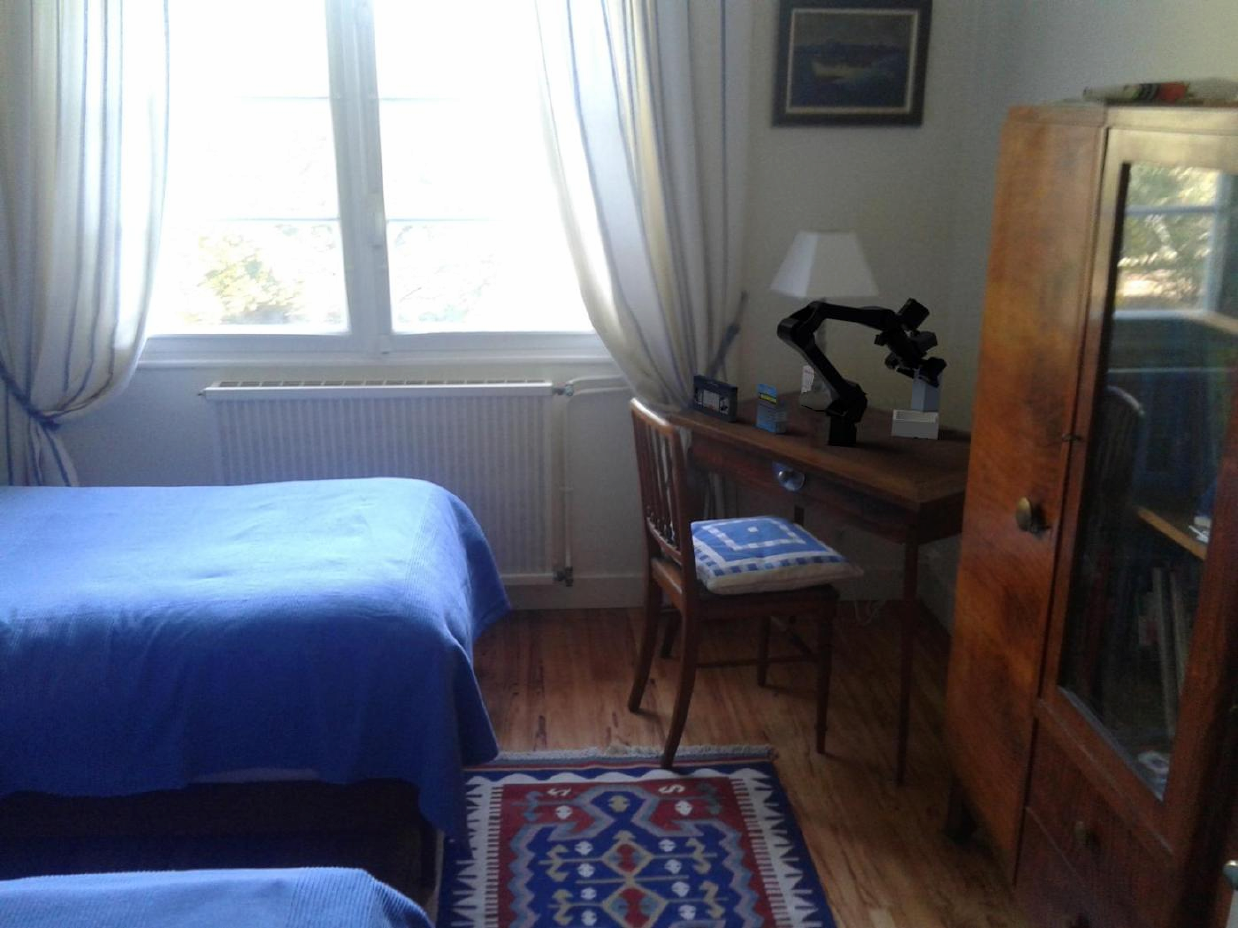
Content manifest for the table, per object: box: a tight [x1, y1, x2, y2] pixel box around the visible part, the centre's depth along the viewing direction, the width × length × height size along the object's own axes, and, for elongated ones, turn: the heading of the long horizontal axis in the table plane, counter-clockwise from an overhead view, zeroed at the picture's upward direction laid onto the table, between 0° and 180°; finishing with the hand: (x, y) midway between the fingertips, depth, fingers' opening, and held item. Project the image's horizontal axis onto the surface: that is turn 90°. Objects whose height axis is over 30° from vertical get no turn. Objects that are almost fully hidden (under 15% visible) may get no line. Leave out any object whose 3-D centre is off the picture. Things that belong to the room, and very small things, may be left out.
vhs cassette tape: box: [692, 374, 739, 424], centre depth 297 cm, size 18×3×10 cm, turn 28°
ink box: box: [800, 365, 831, 397], centre depth 308 cm, size 8×5×12 cm, turn 22°
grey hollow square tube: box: [910, 358, 944, 413], centre depth 278 cm, size 5×5×13 cm
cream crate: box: [890, 409, 940, 440], centre depth 284 cm, size 12×12×4 cm
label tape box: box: [756, 381, 788, 435], centre depth 283 cm, size 9×4×12 cm, turn 27°
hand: (930, 384), depth 278 cm, fingers closed on grey hollow square tube, 5 cm apart
